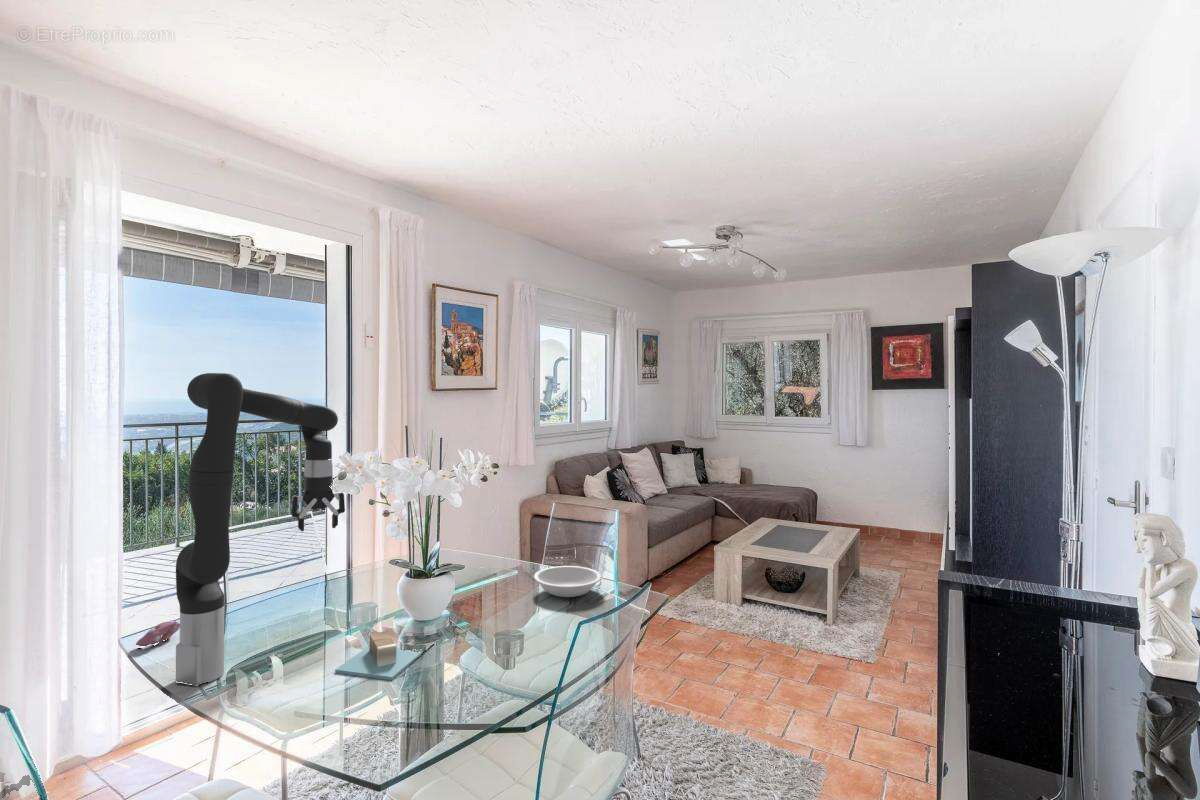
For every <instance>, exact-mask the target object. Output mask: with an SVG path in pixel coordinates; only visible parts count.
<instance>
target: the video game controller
mask: <svg viewBox="0 0 1200 800" xmlns="http://www.w3.org/2000/svg"><path fill="white" fill-rule="evenodd" d="M179 630H180V622H177V621H176V620H175V621H174V620H173V619H172V620H169V621H163V622H161V623H159V624H157V625H156V626H155V627H154V628H151V629H150V630H149V631H147V632H146V633H145V634H144V635H143V636H142V637H141V638H139V640H137V641H136V643H135V646H136V645H139V646H146V647H148V646H149V645H152V644H155V643H158V642H160V643H161V642H162V641H163V640H166V639H168V640H169V639H171V637H172V636H173V635H174V634H176V633H177V632H178V631H179ZM147 645H148V646H147Z"/></svg>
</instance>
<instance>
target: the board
mask: <svg viewBox="0 0 1200 800" xmlns="http://www.w3.org/2000/svg"><path fill="white" fill-rule="evenodd" d="M422 652H423V651H422ZM422 652H420V651H419V652H418V653H417V652H414V651H411V650H405V651H403V650H400V648H398V647H396V663H393V664H388V665H384V666H379V667H378V665H377V663H376V662H375V660H374V658H373V656H372V654H371V653H370V651H369V645H368V646H366V648H364V649H363V650H362V651H360V652H358V653H356V654H355V655H354V656H352V657H351V658H350V659H348V660H346V661H345V662H344V663H342V664H341V665H339V666H338V667H337V668H335V670H334V673H335V674H343V675H351V676H356V677H357V676H359V677H365V678H366V677H367V678H374V679H380V680H388V681H393V680H394V679H395V678H397V677H398V676H399V675H401V674H402V672H403V671H405V670H406V669H407V668H409V667H410V666H411V665H412V664H413V663H414V662H415V661H416V660H415V659H416V658H417V657H418V656H419V655H420V654H421V653H422ZM414 660H415V661H414ZM413 661H414V662H413ZM412 662H413V663H412ZM411 663H412V664H411ZM410 664H411V665H410ZM409 665H410V666H409Z"/></svg>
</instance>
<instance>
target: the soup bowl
mask: <svg viewBox="0 0 1200 800" xmlns="http://www.w3.org/2000/svg"><path fill="white" fill-rule="evenodd" d="M533 579H534V581H535V582H537V583H538V584H539V585H540V587H541V588H542V589H543V591H545V592H547V594H549V595H553V596H555V597H559V598H574V597H575V598H576V597H580V596H583V595H585V594H587V593H589V592H590V591H591V590H592V589H593V588H594V587H595V586H596V584H597V583H599V582H600V581H601V579H602V574H601V572H599V571H598V570H595V569H593V568H589V567H585V566H581V565H559V566H558V565H557V566H552V567H551V566H550V567H547V568H545V567H544V568H542V569H540V570H538V571H536V572H535V573H534V575H533Z"/></svg>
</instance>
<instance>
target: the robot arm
mask: <svg viewBox="0 0 1200 800" xmlns="http://www.w3.org/2000/svg"><path fill="white" fill-rule="evenodd" d="M186 391H187V397H188V398H189V400H190V402H192V403H193V405H195V406H196V407H198V408H201V409H204V410H206V411H207V412H206V413H207V415H206V424H205V425H206V427H205V431H204V434H203V437H202V438H201V440H200V443H199V444H198V446H197V448H196V450H195V452H194V454H193V456H192V458H191V460H190V465H189V472H188V485H187V487H188V489H187V490H188V498H189V503H190V506H191V507H190V508H191V511H192V516H193V520H194V538H193V539H194V540H193V541H192V542H190V543H188V544H186V545H185V546H184V547H183V548H182V549H181V550H180V551H179V553H178V556H177V559H176V562H175V589H176V597H177V598H176V599H177V601H178V603H179V624H180V628H179V643H177V644H176V645H175V682H176V681H177V682H183V683H187V684H192V685H198V684H200V683H204V684H206V682H208V683H210V682H213V681H215V680H217V679H219V678H221V677H222V676H223V675H224V673H225V594H224V592H223V590H222V588H221V586H220V582H219V581H220V580H221V579H222V578H223V577H224V575H225V574H226V573H227V571H228V570H229V569H228V568H229V566H230V562H231V553H230V551H231V549H230V548H231V547H230V527H229V526H230V516H231V505H232V492H233V484H234V483H233V482H234V469H235V468H234V467H235V456H236V455H235V453H236V442H237V431H238V426H239V420H240V415H241V413H245V414H249V415H253V416H257V417H261V418H264V419H268V420H271V421H275V422H278V423H284V424H288V425H294V426H300V428H301V434H302V437H303V441H304V444H305V464H304V471H303V475H304V487H303V488H304V489H303V490H304V492H303V495H296V494H294V495H292V497H291V508H290V509H291V510H290V515H291V516H292V517H293V518H297V528H298V530H300V532H304V531H305V518H304V517H305V515H306V514H307V513H308V512H309V511H311V510H313V511H315V510H318V509H321V510H324V509H326V508H327V509H329V510H330V512H332V514H331V528H332V529H336V527H338V525H339V515H340V514H343V513H345V512H346V507H345V494H344V492H342V493H339V492H335V493H334V492H333V488H332V489H331V488H330V487H329V486H330V485H331V483H332V480H334V479H333V473H334V472H333V470H334V469H333V468H334V467H333V446H332V444H333V443H332V442H331V440H329V439H328V438H326V437H325V436H324V433H323V432H327V431H331V430H333V429H334V428H335V427H337V424H338V421H339V417H338V414H337V413H336V411H335V410H334V409H333V408H331V407H329V406H323V405H321V404H320V405H319V404H314V403H307V402H303V401H301V400H298V399H295V398H290V397H289V396H283V395H280V394H274V393H268V392H264V391H257V390H251V389H247V388H244V387H243V385H242V382H241V380H240V379H239V378H238V377H237V376H235V375H233V374H231V373H225V372H224V373H223V372H207V373H206V372H205V373H202V374H199V375H197V376H195V377H193V378H192V379H191V380H190V382H189V383H188V384H187V388H186ZM332 484H333V483H332ZM334 498H335V500H337V501H338V508H337V509H336V508H335V507H334V506H333V504H332V503H331V502H332V501H333V500H334ZM301 501H303V502H304V503H305V504H304V506H303V507H302V508H301V510H300V511H299V512H297V511H298V505H299V504H301Z"/></svg>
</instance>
